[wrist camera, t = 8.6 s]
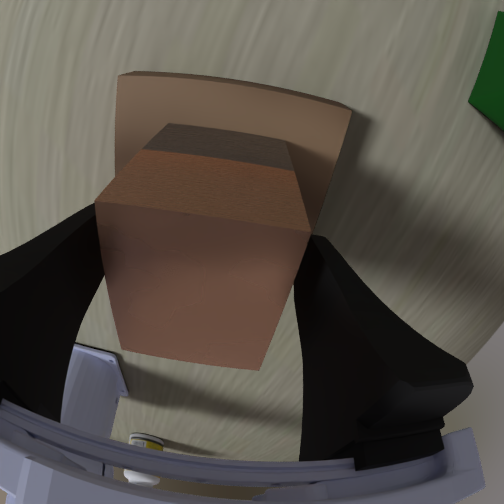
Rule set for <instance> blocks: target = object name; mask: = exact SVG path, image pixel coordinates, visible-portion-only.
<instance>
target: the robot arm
mask: <svg viewBox="0 0 504 504" xmlns="http://www.w3.org/2000/svg"><path fill="white" fill-rule="evenodd" d="M104 275H105V273H104V268H103V262H102V256H101V250H100V243H99V236H98V228H97V220H96V211H95V203H93V204H91V205H89V206H87V207H85V208H84V209H82V210H80V211H78V212H77V213H75V214H73V215H72V216H70V217H68V218H67V219H65V220H64V221H62V222H60V223H59V224H57V225H55V226H54V227H52V228H50V229H49V230H47V231H45V232H44V233H42V234H40V235H39V236H37V237H35V238H34V239H32V240H30V241H28V242H26V243H25V244H23V245H21V246H19V247H17V248H15V249H13V250H11V251H9V252H7V253H5V254H3V255H0V489H2V490H3V491H5V492H6V493H7V498H6V503H5V504H455V503H457V502H459V501H461V500H463V499H465V498H467V497H469V496H471V495H473V494H475V493H477V492H479V491H480V490H482V489H484V488H485V481H484V476H483V471H482V466H481V462H480V458H479V453H478V450H477V446H476V442H475V438H474V434H473V431H472V428H471V427H468V428H465V429H462V430H459V431H455V432H451V433H448V434H446V435H444V436H441V433H440V429H442V428H443V427H444V425H445V423H444V420H443V416H445V415H446V414H447V413H449V412H450V411H451V410H453V409H454V408H455V407H457V406H458V405H459V404H461V403H462V402H463V401H464V400H465V399H466V398H467V397H468V396H469V395H470V394H471V391H472V389H473V387H474V386H473V383H472V380H471V377H470V374H469V372H468V369H467V366H466V364H465V363H464V362H462V361H461V360H459V359H457V358H456V357H454V356H452V355H451V354H449V353H447V352H445V351H444V350H442V349H441V348H439V347H437V346H436V345H435V344H433V343H432V342H430V341H429V340H427V339H426V338H424V337H423V336H422V335H420V334H419V333H418V332H416V331H415V330H414V329H413V328H411V327H410V326H409V325H408V324H407V323H405V322H404V321H403V320H402V319H400V318H399V317H398V316H397V315H396V314H395V313H394V312H393V311H392V310H390V309H389V308H388V307H387V306H386V305H385V304H384V303H383V302H382V301H381V300H380V299H379V298H378V297H377V296H376V295H375V294H374V293H373V292H372V291H371V290H370V289H369V287H368V286H367V285H366V284H365V283H364V282H363V281H362V280H361V279H360V277H359V276H358V275H357V274H356V273H355V272H354V270H353V269H352V268H351V267H350V266H349V265H348V263H347V262H346V261H345V260H344V258H343V257H342V256H341V255H340V254H339V252H338V251H337V250H336V249H335V248H334V246H333V245H332V244H331V243H330V242H329V241H328V240H327V239H326V237H323V236H317V235H312V234H311V235H310V238H309V241H308V244H307V246H306V249H305V252H304V255H303V258H302V260H301V263H300V266H299V269H298V271H297V274H296V277H295V280H294V302H295V309H296V316H297V323H298V329H299V336H300V342H301V349H302V359H303V417H302V434H301V445H300V455H299V462H261V461H239V460H226V459H215V458H206V457H197V456H190V455H183V454H177V453H171V452H165V451H160V450H154V449H149V448H145V447H140V446H136V445H131V444H127V443H123V442H119V441H115V440H111V439H109V438H110V435H111V432H112V427H113V423H114V419H115V414H116V410H117V406H118V402H119V398H120V395H122V396H128V394H129V393H128V390H127V387H126V384H125V382H124V379H123V376H122V373H121V370H120V367H119V364H118V360H117V357H116V356H115V355H114V354H112V353H109V352H105V351H101V350H97V349H93V348H89V347H85V346H81V345H78V344H75V341H76V337H77V334H78V331H79V328H80V325H81V323H82V320H83V318H84V316H85V313H86V311H87V309H88V307H89V305H90V303H91V301H92V299H93V297H94V295H95V293H96V291H97V289H98V287H99V285H100V283H101V281H102V279H103V277H104ZM113 466H115V467H119V468H123V469H127V470H131V471H135V472H139V473H144V474H149V475H153V476H159V477H164V478H170V479H176V480H183V481H190V482H198V483H206V484H218V485H230V486H251V487H285V488H275V489H267V490H266V491H265V494H263V495H257V496H254V497H253V498H252V501H249V500H233V499H223V498H213V497H204V496H197V495H190V494H183V493H176V492H171V491H165V490H160V489H155V488H150V487H145V486H141V485H136V484H132V483H128V482H124V481H120V480H116V479H113V474H114V470H113ZM289 486H294V487H289Z"/></svg>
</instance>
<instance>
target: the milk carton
mask: <svg viewBox="0 0 504 504" xmlns="http://www.w3.org/2000/svg"><path fill="white" fill-rule="evenodd" d="M468 102H469V103H470V104H472V105H473V106H474V107H475V108H477V109H478V110H479V111H481V112H482V113H483V114H484V115H485V116H487V117H488V118H489V119H490V120H491V121H492V122H494V123H495V124H496V125H497V126H498V127H499V128H500V129H502V130H503V131H504V12H501V11H498V14H497V17H496V21H495V25H494V28H493V32H492V35H491V39H490V42H489V45H488V48H487V51H486V54H485V57H484V60H483V63H482V66H481V69H480V72H479V74H478V77H477V80H476V83H475V85H474V88H473V90H472V93H471V95H470V98H469V100H468Z"/></svg>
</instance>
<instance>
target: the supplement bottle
mask: <svg viewBox="0 0 504 504" xmlns="http://www.w3.org/2000/svg"><path fill="white" fill-rule="evenodd" d="M129 444H131V445H136V446H140V447H145V448H149V449H154V450H160V451H163V447H164V443H163V441H162V440H161V439H159V438H156V437H154V436H150V435H146V434H141V433H133V434H131V435H130V438H129ZM124 475H125V477H126V478H127V479H129V483H132V484H136V485H141V486H145V487H150V488H153V485H156V484H158V483H159V481H160V477H159V476H153V475H149V474H144V473H139V472H135V471H131V470H127V469H124Z"/></svg>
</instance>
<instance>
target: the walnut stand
mask: <svg viewBox="0 0 504 504" xmlns="http://www.w3.org/2000/svg"><path fill="white" fill-rule="evenodd" d="M351 114H352V110H350V109H349V108H347V107H346V106H344V105H343V104H341V103H339V102H336V101H332V100H329V99H325V98H321V97H318V96H314V95H310V94H306V93H301V92H297V91H293V90H288V89H284V88H279V87H274V86H269V85H264V84H258V83H253V82H247V81H241V80H234V79H227V78H220V77H212V76H203V75H193V74H182V73H167V72H146V71H133V72H130V73H126V74H122V75H118V82H117V96H116V117H115V177H116V175H117V174H118V173H119V172H120V171H121V170H122V169H123V168H124V167H125V166H126V165H127V164H128V162H129V161H130V160H131V159H132V158H133V157H134V156H135V155H136V154H137V153H138V152H139V151H140V150H141V149H142V148H143V147H144V146H145V145H146V144H147V143H148V142H149V141H150V140H151V139H152V138H153V137H154V136H155V135H156V134H157V133H158V132H159V131H160V130H161V129H162V128H164V127H165V126H166V125H167V124H168V123H174V124H184V125H193V126H201V127H209V128H217V129H224V130H230V131H237V132H243V133H249V134H255V135H261V136H266V137H272V138H277V139H282V140H285V142H286V145H287V149H288V152H289V155H290V158H291V162H292V165H293V168H294V172H295V175H296V179H297V182H298V185H299V189H300V192H301V196H302V200H303V203H304V207H305V210H306V214H307V218H308V222H309V225H310V229H311V234H313V231H314V228H315V225H316V222H317V219H318V217H319V214H320V211H321V208H322V205H323V202H324V199H325V196H326V193H327V190H328V187H329V184H330V181H331V178H332V175H333V172H334V169H335V166H336V163H337V160H338V156H339V153H340V150H341V147H342V144H343V141H344V137H345V134H346V131H347V127H348V124H349V121H350V117H351ZM293 285H294V282H293Z"/></svg>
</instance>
